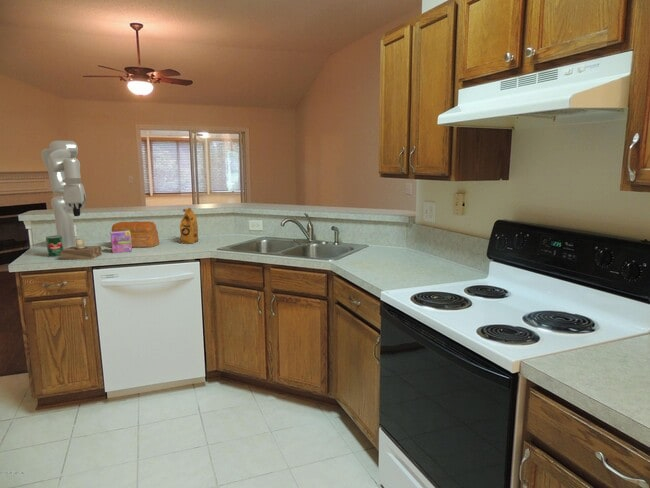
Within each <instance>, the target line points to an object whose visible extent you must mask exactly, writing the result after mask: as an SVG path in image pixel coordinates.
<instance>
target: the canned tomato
mask: <svg viewBox="0 0 650 488" xmlns="http://www.w3.org/2000/svg"><path fill="white" fill-rule="evenodd" d="M45 240H46V241H45V242H46V249H47V257H48V258H58V257H60V258H61V253H60V251H61V250H64V248H63V240H62V236H61V235H57V234H56V235H48V236H46V237H45Z"/></svg>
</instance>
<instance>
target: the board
mask: <svg viewBox="0 0 650 488" xmlns="http://www.w3.org/2000/svg"><path fill="white" fill-rule="evenodd" d="M60 253H61V256H60V261H61V260H62V261H72V260H73V261H74V260H76V261H77V260H79V261H80V260H81V261H82V260H83V261H84V260H93V259H96V258H98V257H99V256H102V255H103V254H102V246H100V245H91V246H90V245H89V246H88V245H85V249H77V247H76V246H74V247H69V248H67V249H64V250H61V251H60Z"/></svg>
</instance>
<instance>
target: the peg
mask: <svg viewBox="0 0 650 488" xmlns="http://www.w3.org/2000/svg"><path fill="white" fill-rule="evenodd" d="M75 239H76V247H77V249H85V246H86V245H85V239H84V238H75Z"/></svg>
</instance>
